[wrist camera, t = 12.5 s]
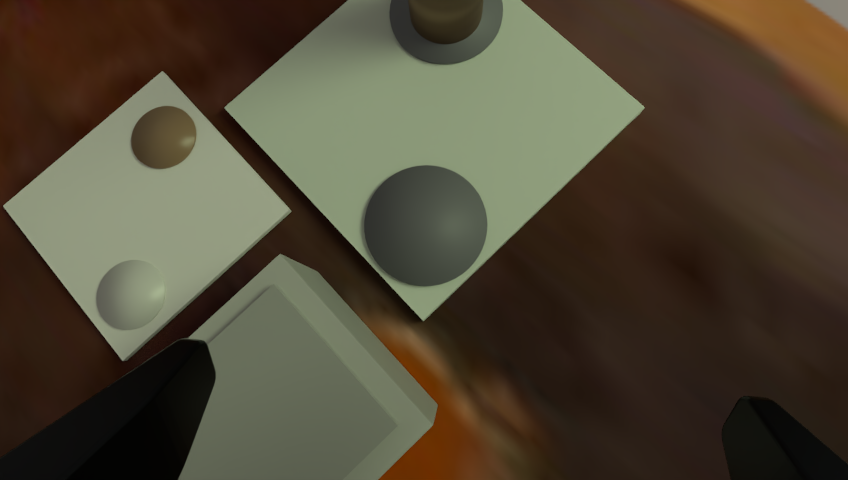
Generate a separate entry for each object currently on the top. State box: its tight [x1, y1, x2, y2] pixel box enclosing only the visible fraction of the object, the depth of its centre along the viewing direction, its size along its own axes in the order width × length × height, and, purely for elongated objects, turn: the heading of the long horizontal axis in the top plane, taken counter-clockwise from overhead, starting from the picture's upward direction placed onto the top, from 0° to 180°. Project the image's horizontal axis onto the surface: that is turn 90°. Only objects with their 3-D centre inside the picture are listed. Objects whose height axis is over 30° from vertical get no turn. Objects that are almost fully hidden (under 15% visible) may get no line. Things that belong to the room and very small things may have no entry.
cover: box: [178, 254, 438, 480], centre depth 19 cm, size 8×8×5 cm
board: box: [224, 0, 645, 321], centre depth 24 cm, size 14×14×1 cm
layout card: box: [3, 71, 292, 361], centre depth 24 cm, size 10×10×1 cm
